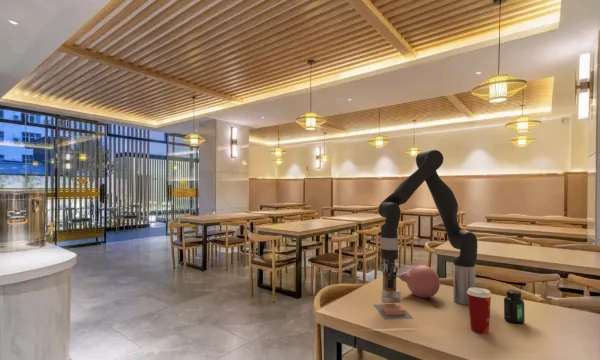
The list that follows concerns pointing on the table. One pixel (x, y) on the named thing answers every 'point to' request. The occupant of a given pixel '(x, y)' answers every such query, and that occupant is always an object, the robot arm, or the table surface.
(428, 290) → the pink rounded piece
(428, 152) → the robot arm
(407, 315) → the mat
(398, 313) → the tile
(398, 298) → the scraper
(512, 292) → the supplement bottle
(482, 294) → the coffee cup
